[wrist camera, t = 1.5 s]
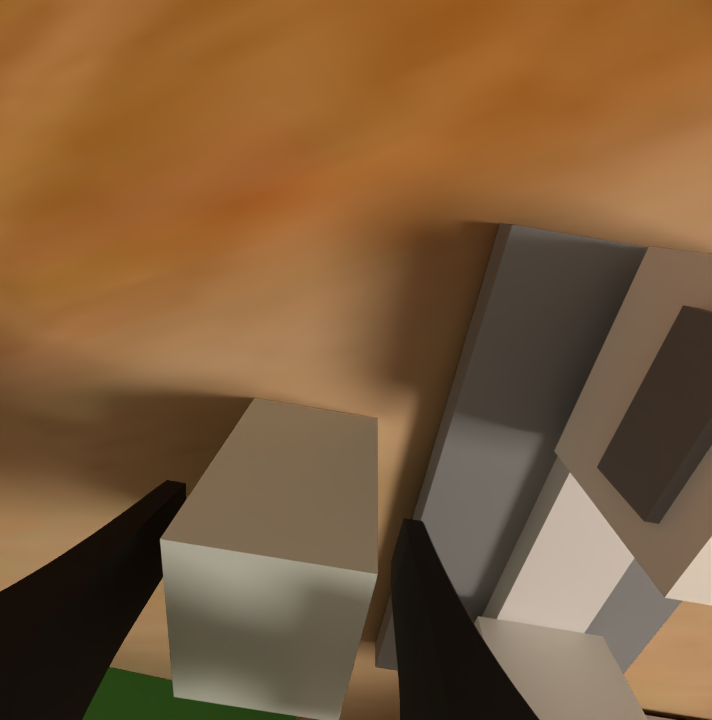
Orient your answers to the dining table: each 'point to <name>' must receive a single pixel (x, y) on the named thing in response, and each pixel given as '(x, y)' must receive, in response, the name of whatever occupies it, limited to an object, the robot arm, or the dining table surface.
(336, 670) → the block
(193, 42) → the dining table surface
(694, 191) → the dining table surface
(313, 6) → the dining table surface
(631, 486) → the plate
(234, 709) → the hardback book
